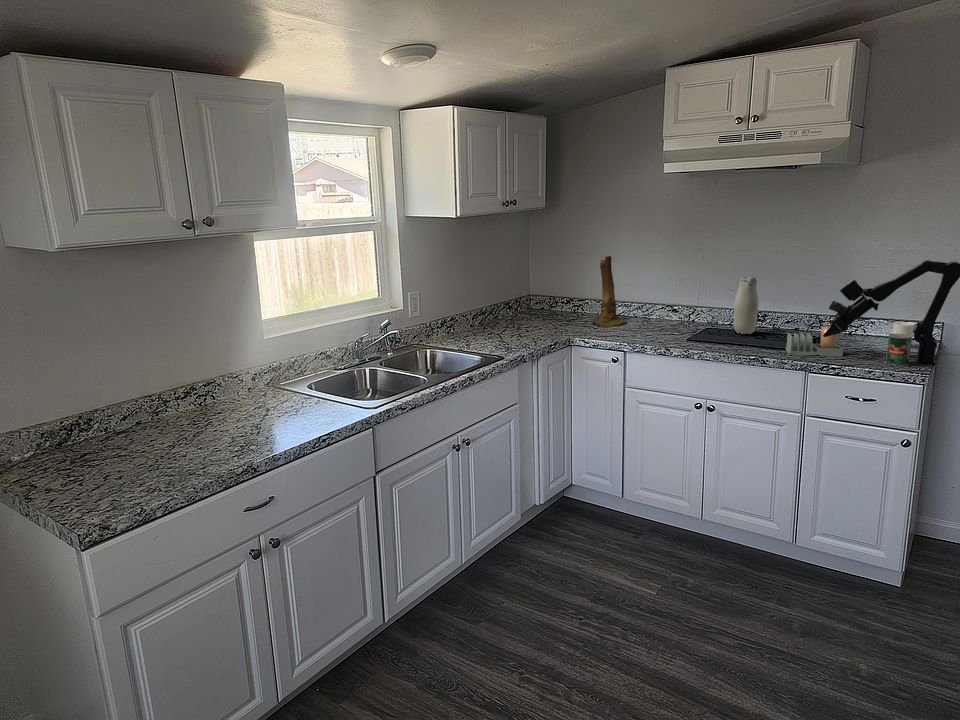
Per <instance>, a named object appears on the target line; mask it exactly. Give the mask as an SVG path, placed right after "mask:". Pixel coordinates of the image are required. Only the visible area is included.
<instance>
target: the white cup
mask: <svg viewBox="0 0 960 720" xmlns="http://www.w3.org/2000/svg"><path fill="white" fill-rule="evenodd" d="M915 326H916V323H913V322H909V321H908V322H906V321H895V322H893V323H892V334H906V335H910V336H912V339H914V333H913V329H914V328H915Z"/></svg>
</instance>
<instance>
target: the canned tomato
mask: <svg viewBox="0 0 960 720" xmlns="http://www.w3.org/2000/svg"><path fill="white" fill-rule="evenodd" d="M887 338H888V339H887V344H886V346H887V347H886V355H885V362H886V364H887V363H888V364H887V365H890V364H891V366H896V365H900V366H899V367H905V366H904V365H907V366H909V365H910V359H911V357H910V356H911V348H912V341H913V338H912V336H910V335H906V334H893V333H890V334H888V337H887ZM901 365H902V366H901Z"/></svg>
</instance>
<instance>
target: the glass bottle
mask: <svg viewBox="0 0 960 720" xmlns="http://www.w3.org/2000/svg"><path fill="white" fill-rule="evenodd" d="M757 281H758V280H757V278H756V277H755V276H753V275H750V274H749V275H743V276H741V278H740V280H739V282H738V283H739V286H738V288H737V290H738V291H737V293H736V295H735V298H734V306H733V307H734V308H733V329H734V331H735V332H736V333H737V334H739V333H741V334H740V335H742V334H749V335H752V334H753V333H754V332H755V331H756V328H757V323H758V312H759V311H758V310H759V295H758V292H757V291H758V289H757Z"/></svg>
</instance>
